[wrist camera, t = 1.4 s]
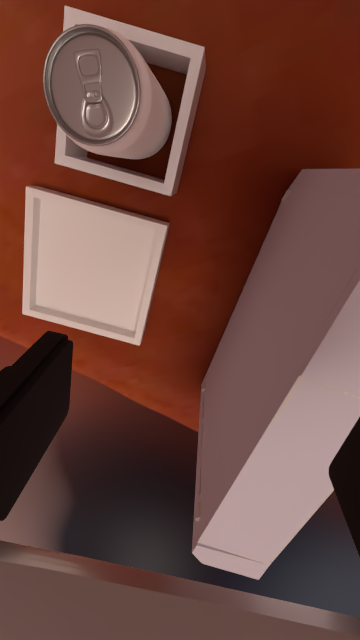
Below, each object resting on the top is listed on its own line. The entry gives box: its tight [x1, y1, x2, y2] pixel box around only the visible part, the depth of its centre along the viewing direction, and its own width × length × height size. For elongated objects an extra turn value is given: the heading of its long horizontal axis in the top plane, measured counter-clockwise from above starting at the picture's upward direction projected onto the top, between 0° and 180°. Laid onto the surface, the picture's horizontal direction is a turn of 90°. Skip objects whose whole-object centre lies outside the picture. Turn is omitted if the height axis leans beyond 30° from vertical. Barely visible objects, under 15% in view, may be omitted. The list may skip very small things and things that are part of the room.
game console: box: [192, 169, 360, 579], centre depth 26 cm, size 6×27×20 cm, turn 162°
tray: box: [22, 185, 170, 346], centre depth 34 cm, size 14×14×2 cm
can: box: [43, 24, 172, 159], centre depth 23 cm, size 6×6×12 cm
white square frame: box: [55, 6, 206, 196], centre depth 26 cm, size 10×10×5 cm
